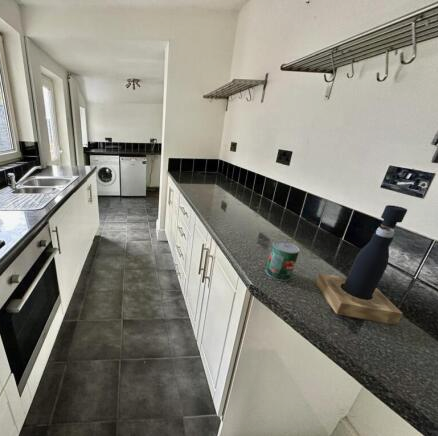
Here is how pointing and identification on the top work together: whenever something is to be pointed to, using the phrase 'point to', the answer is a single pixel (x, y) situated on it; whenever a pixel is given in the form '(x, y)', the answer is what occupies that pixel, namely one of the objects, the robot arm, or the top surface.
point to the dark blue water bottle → (373, 256)
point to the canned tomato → (282, 260)
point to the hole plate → (357, 301)
